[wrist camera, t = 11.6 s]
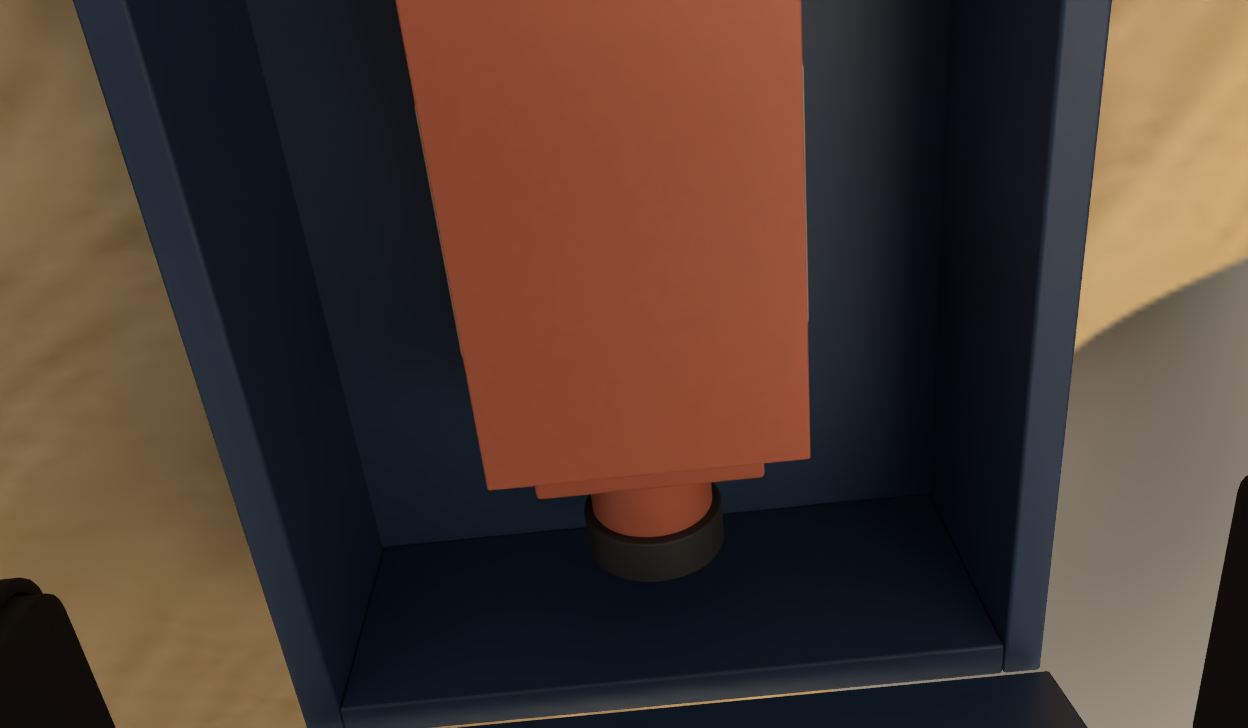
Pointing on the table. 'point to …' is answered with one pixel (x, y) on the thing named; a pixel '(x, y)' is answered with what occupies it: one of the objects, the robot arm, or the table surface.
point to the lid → (863, 709)
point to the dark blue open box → (555, 528)
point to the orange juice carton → (623, 251)
